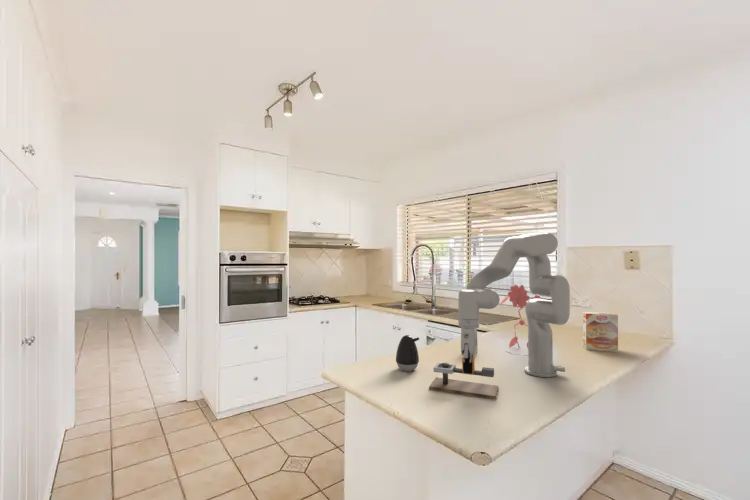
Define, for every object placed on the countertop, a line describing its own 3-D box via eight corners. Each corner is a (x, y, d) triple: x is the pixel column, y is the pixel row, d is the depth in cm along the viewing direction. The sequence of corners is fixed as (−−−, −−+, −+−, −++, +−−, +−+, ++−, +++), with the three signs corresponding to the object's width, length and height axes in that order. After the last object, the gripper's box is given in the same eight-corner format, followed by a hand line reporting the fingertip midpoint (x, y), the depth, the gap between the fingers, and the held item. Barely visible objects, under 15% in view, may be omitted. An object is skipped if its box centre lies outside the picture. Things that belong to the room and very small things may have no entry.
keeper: (498, 388, 136) (498, 365, 137) (495, 399, 126) (495, 374, 126) (436, 380, 146) (436, 358, 146) (429, 389, 136) (428, 366, 136)
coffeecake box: (586, 350, 191) (585, 313, 191) (582, 346, 198) (582, 311, 198) (618, 352, 187) (618, 314, 187) (614, 348, 193) (613, 312, 194)
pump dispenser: (418, 374, 154) (418, 338, 154) (394, 372, 156) (394, 337, 156) (420, 366, 164) (420, 333, 164) (397, 365, 166) (397, 332, 166)
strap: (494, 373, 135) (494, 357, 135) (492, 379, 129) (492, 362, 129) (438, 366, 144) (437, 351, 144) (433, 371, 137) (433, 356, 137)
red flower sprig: (507, 343, 205) (505, 282, 205) (549, 354, 183) (548, 285, 183) (488, 347, 197) (487, 284, 197) (531, 359, 175) (529, 287, 175)
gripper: (475, 327, 127) (475, 380, 126) (481, 320, 142) (481, 367, 141) (454, 325, 130) (454, 377, 129) (462, 318, 145) (462, 364, 144)
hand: (468, 371), depth 135 cm, fingers closed on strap, 3 cm apart
